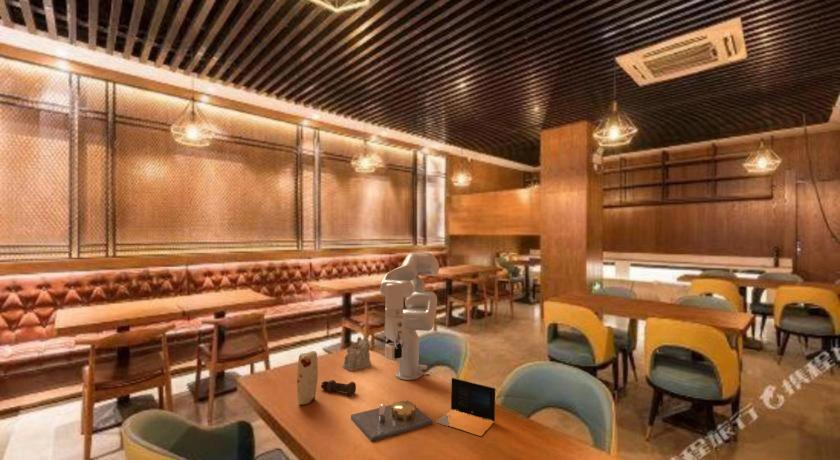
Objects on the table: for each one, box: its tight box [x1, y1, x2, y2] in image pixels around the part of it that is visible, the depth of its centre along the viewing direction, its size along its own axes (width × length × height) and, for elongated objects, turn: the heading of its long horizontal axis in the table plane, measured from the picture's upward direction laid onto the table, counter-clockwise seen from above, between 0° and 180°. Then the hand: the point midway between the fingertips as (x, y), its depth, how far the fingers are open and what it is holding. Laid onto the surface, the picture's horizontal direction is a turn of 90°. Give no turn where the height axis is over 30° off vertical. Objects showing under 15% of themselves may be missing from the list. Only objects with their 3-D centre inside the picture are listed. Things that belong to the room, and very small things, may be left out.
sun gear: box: [391, 400, 417, 420], centre depth 146 cm, size 9×9×3 cm
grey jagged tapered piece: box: [341, 335, 372, 371], centre depth 203 cm, size 16×16×15 cm
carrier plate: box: [350, 400, 433, 443], centre depth 143 cm, size 24×18×7 cm
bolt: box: [320, 379, 357, 397], centre depth 168 cm, size 6×5×15 cm
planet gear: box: [384, 342, 402, 361], centre depth 164 cm, size 7×7×5 cm
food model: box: [296, 350, 319, 405], centre depth 158 cm, size 10×7×20 cm
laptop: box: [435, 377, 496, 428], centre depth 144 cm, size 18×12×13 cm
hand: (393, 354), depth 164 cm, fingers closed on planet gear, 7 cm apart
